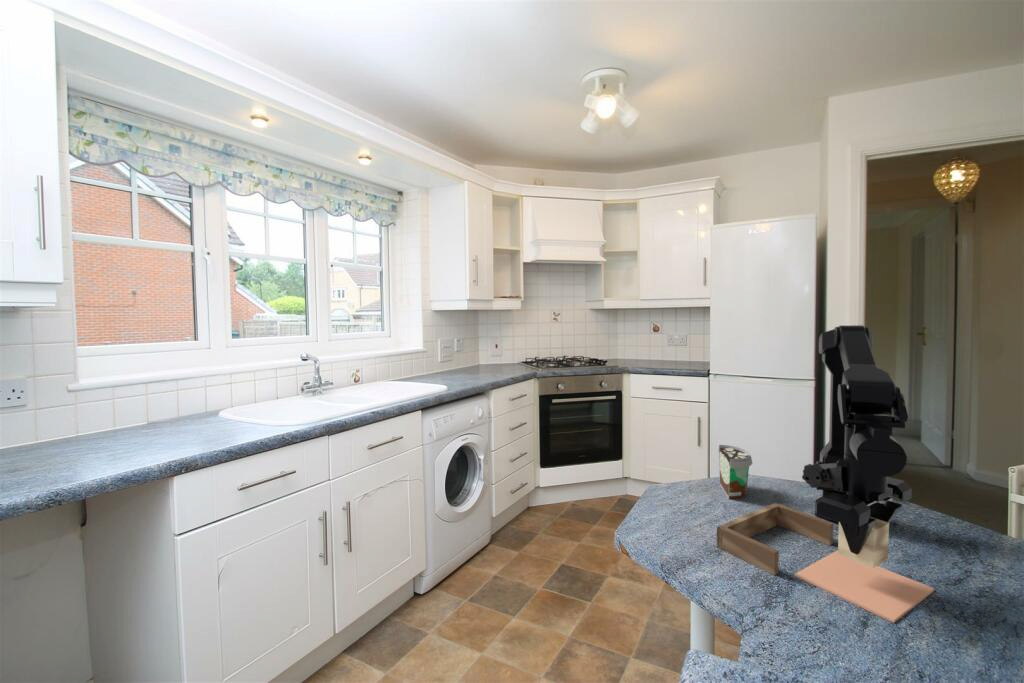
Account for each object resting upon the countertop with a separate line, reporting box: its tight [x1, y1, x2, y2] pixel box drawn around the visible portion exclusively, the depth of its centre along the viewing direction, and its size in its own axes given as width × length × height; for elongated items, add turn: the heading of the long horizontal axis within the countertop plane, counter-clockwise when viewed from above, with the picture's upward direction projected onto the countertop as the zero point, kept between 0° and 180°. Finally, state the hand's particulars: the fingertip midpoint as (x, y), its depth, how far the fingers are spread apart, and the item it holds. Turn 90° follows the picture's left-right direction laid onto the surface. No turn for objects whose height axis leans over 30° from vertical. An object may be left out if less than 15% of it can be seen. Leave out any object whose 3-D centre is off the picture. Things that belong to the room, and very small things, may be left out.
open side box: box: [716, 502, 835, 576], centre depth 90 cm, size 19×11×4 cm, turn 120°
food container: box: [718, 444, 753, 500], centre depth 115 cm, size 12×6×10 cm, turn 168°
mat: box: [794, 549, 935, 624], centre depth 78 cm, size 14×14×1 cm
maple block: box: [837, 517, 890, 568], centre depth 77 cm, size 5×5×6 cm
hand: (862, 548), depth 77 cm, fingers closed on maple block, 5 cm apart
